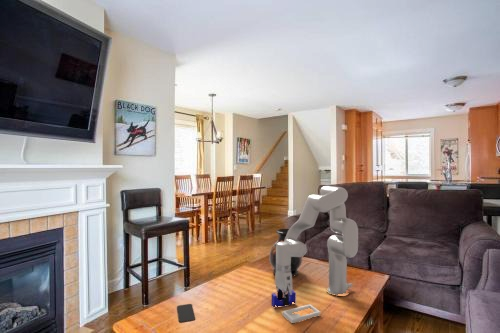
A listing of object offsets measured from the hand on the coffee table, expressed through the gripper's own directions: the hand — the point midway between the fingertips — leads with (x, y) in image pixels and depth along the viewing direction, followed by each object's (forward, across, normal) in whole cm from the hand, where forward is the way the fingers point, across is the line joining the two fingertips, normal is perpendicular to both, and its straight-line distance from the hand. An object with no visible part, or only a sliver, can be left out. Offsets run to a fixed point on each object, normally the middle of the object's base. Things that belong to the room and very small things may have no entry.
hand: (283, 302), depth 142 cm
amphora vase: (+1, +34, -23) cm, 41 cm away
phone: (+2, +12, +47) cm, 48 cm away
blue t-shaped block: (+1, 0, 0) cm, 1 cm away
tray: (+1, -13, -2) cm, 13 cm away
